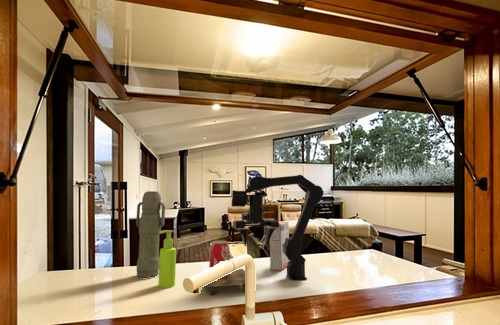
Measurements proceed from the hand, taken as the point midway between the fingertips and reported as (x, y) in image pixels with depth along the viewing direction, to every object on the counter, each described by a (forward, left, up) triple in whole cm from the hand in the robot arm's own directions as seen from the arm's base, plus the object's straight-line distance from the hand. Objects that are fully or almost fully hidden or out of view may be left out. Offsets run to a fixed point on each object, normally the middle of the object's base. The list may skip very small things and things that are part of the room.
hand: (256, 245), depth 111 cm
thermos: (+42, -17, -13) cm, 47 cm away
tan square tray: (+14, +8, -13) cm, 21 cm away
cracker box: (-17, -15, -13) cm, 26 cm away
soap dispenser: (+35, -1, -13) cm, 37 cm away
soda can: (+17, +9, -9) cm, 21 cm away
